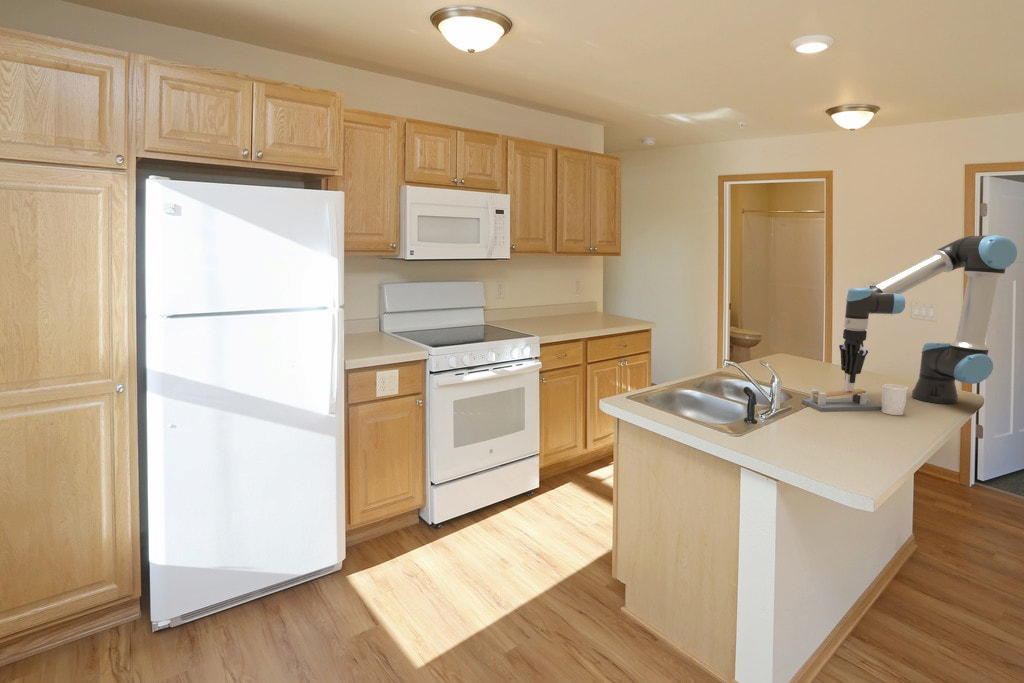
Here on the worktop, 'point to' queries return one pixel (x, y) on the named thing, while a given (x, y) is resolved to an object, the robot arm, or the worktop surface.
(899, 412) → the white cup
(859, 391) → the strap
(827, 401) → the mount
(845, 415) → the worktop surface
